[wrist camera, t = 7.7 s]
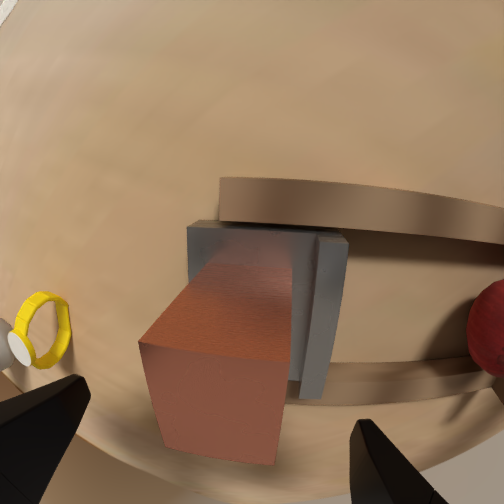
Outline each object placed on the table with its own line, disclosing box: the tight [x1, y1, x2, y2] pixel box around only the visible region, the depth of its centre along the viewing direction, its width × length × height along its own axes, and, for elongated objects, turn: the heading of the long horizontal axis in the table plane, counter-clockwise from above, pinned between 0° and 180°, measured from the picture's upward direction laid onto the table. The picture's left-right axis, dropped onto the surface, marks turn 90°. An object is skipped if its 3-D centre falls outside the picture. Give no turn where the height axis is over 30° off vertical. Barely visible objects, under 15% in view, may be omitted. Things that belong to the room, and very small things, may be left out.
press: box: [138, 220, 349, 465], centre depth 12 cm, size 7×8×9 cm
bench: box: [219, 177, 504, 405], centre depth 12 cm, size 22×13×6 cm, turn 88°
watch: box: [8, 291, 72, 369], centre depth 17 cm, size 6×3×6 cm, turn 169°
